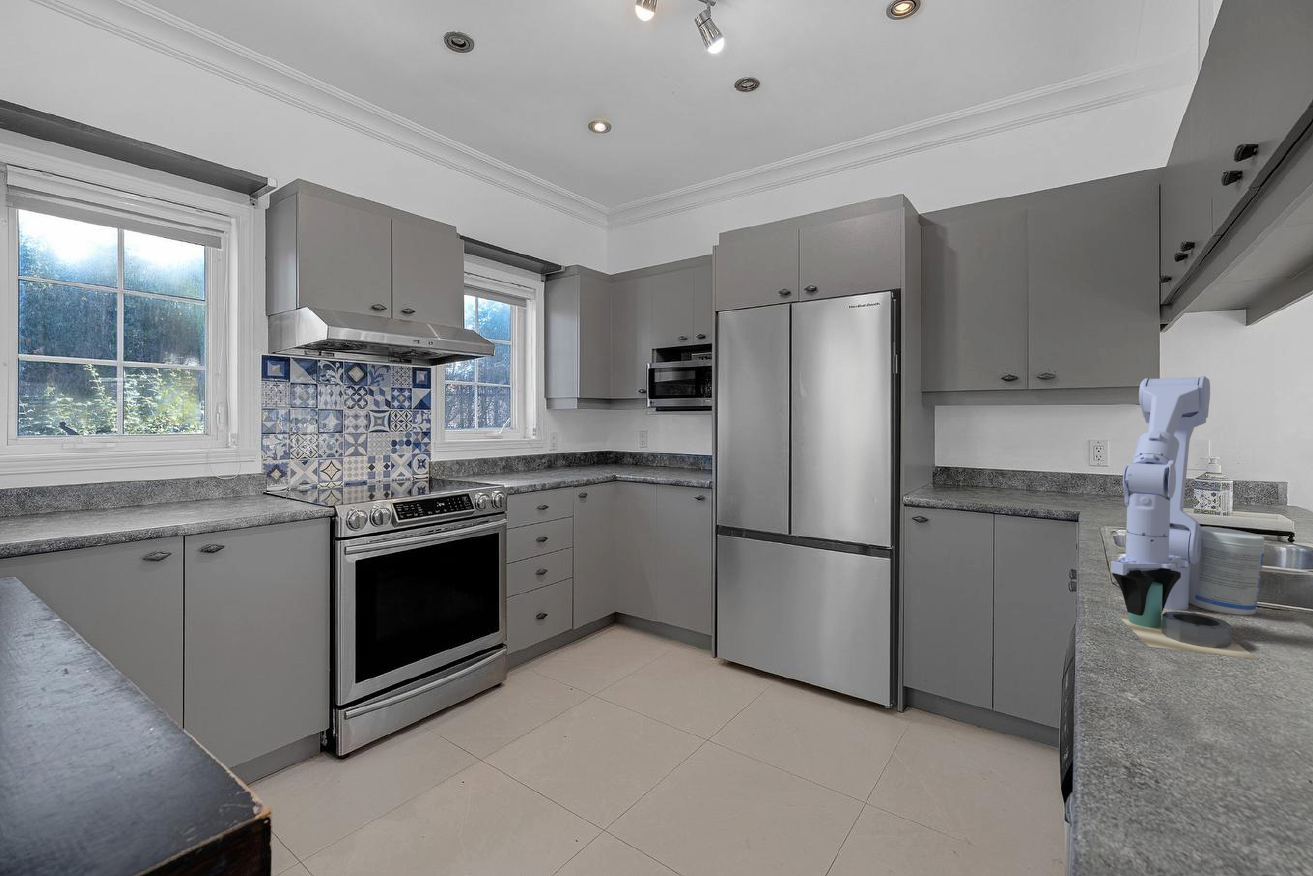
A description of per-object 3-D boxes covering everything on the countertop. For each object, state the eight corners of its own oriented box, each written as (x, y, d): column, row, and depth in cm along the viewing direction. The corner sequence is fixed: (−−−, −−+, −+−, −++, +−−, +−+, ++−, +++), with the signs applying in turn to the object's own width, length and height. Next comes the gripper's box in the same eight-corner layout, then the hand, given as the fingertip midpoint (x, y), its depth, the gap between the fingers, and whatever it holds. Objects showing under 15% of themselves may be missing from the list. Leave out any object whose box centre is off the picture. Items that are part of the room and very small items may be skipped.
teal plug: (1124, 617, 107) (1126, 578, 107) (1155, 620, 105) (1157, 580, 105) (1133, 625, 103) (1134, 584, 102) (1165, 629, 101) (1166, 587, 101)
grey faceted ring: (1154, 626, 102) (1155, 609, 102) (1215, 633, 99) (1216, 615, 99) (1173, 643, 95) (1174, 624, 95) (1240, 651, 92) (1241, 631, 92)
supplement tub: (1269, 621, 108) (1282, 541, 106) (1211, 616, 109) (1224, 536, 107) (1224, 602, 117) (1236, 528, 116) (1172, 597, 118) (1183, 523, 117)
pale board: (1116, 620, 108) (1117, 614, 108) (1209, 630, 103) (1209, 624, 103) (1149, 652, 94) (1149, 646, 94) (1258, 666, 89) (1259, 659, 89)
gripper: (1144, 541, 97) (1141, 624, 98) (1202, 535, 102) (1199, 614, 102) (1099, 533, 104) (1097, 611, 104) (1156, 527, 109) (1153, 602, 109)
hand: (1144, 612), depth 104 cm, fingers closed on teal plug, 4 cm apart
